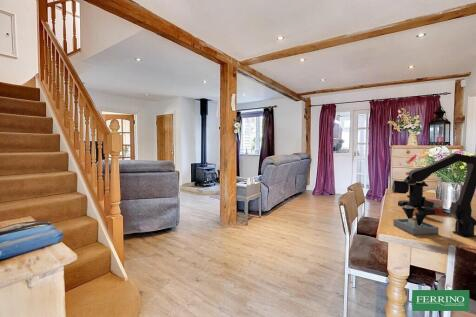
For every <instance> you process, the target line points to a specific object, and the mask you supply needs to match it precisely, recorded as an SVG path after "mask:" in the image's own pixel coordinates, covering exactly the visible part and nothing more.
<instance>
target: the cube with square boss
mask: <svg viewBox="0 0 476 317" xmlns="http://www.w3.org/2000/svg"><path fill="white" fill-rule="evenodd" d="M407 219H408V224H409V225H411V226H413V227H418V226H419V225H418V224H417V220H416V216H415V217H413V218H408V217H407ZM420 226H422V224H421V225H420Z"/></svg>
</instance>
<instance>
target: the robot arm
mask: <svg viewBox="0 0 476 317" xmlns="http://www.w3.org/2000/svg"><path fill="white" fill-rule="evenodd" d="M458 162H461V163H465V164H466V165H465V167H466V175H465V178H464V181H463V184H462V188H461V191H460V194H459V196H458V199H457V200H456V201H455V202H454V201H452V202H451V203H450V207H449V208H448V209H449V213H450V214H451V215H452V216H453V217H454V219H455V220H456V221H455V225H454V227H455V228H454V230H453V231H452V233H454V234H456V235H458V236H460V237H463V238H476V234H475V227H476V219H475V218H474V217H473V216H472V213H473V212H472V211H473V210H472V201H473V197H474V195H475V192H476V154H474V155H468V154H467V155H466V154H462V153H458V152H452V153H450V154H449V155H447V156H445V157H443V158H441V159H439V160H436V161H435V162H433V163H430V164H428V165H425V166H422V167H419V168H418V167H417V168H414V169H412V170H410V171H409V172H408V176H407V177H405V179H404V180H396V179H394V180H393V181H392V186H391V191H392V193H393V194H407V193H408V194H407V195H406V197H407V198H408V200H407V199H406V200H398V201H397V207H401V209H402V210H403V212H404V213H405V216H406V217H407V219H408V218H414V214H413V212H414V210H415V209H416V210H418V212H419V213H415V217H416V220H417V224H418V225H419V226H420V225H421V224H422V222H423V221H424V219H425V218H426V217H427V216H436V215H437V213H436V211H435V210H434V209H432V208H433V205H434V203H433V202H430V201H427V200H425V198H426V196H424V195H423V194H424V187H429V185H428V183H426V182H425V180H426V179H428V178H429V177H430V176H431V175H432V174H434V173H436V172H439V171H440V170H443V169H445V168H447V167H449V166H452V165H454V164H456V163H458ZM423 196H424V197H423ZM422 207H424V208H422ZM429 207H430V208H429Z"/></svg>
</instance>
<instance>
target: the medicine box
mask: <svg viewBox="0 0 476 317" xmlns="http://www.w3.org/2000/svg"><path fill="white" fill-rule="evenodd" d="M425 200H427V201H430V202H433V203H434V205H433V208H432V209H434V210H435V211H436V214H439V215H440V214H443V208H444V206H443V201H442V200H441V199H440V198H427V197H425ZM429 208H430V207H429Z"/></svg>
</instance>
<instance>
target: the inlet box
mask: <svg viewBox="0 0 476 317" xmlns="http://www.w3.org/2000/svg"><path fill="white" fill-rule="evenodd" d="M393 226H394V227H395V228H398V229H400V230H402V231H404V232H406V233H408V234H409V235H412V236H427V235H431V236H432V235H434V236H435V235H439V227H438V226H436V225H434V224H431V223H429V222H426V221H424V220H423V222H422V226H418V227H413V226H411V225H409V224H408V218H393Z"/></svg>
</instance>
